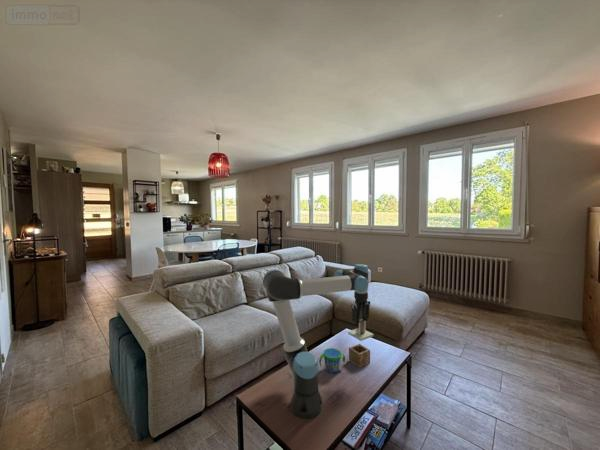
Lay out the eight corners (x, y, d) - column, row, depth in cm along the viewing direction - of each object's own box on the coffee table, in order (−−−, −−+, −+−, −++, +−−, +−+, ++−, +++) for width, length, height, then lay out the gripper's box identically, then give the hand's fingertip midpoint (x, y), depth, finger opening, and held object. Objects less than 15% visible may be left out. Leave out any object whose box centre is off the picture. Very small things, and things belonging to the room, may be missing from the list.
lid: (361, 341, 137) (361, 326, 136) (348, 333, 145) (348, 319, 145) (373, 336, 142) (373, 321, 142) (360, 329, 150) (360, 315, 150)
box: (359, 367, 149) (359, 354, 149) (348, 360, 157) (348, 347, 157) (370, 362, 154) (370, 350, 154) (359, 355, 162) (359, 343, 161)
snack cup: (342, 363, 154) (342, 346, 154) (347, 373, 144) (347, 356, 143) (317, 365, 152) (317, 349, 152) (321, 376, 142) (321, 359, 141)
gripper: (355, 296, 135) (355, 338, 136) (376, 291, 144) (375, 331, 145) (345, 292, 141) (345, 333, 142) (366, 287, 150) (365, 326, 151)
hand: (360, 332), depth 143 cm, fingers closed on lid, 3 cm apart
